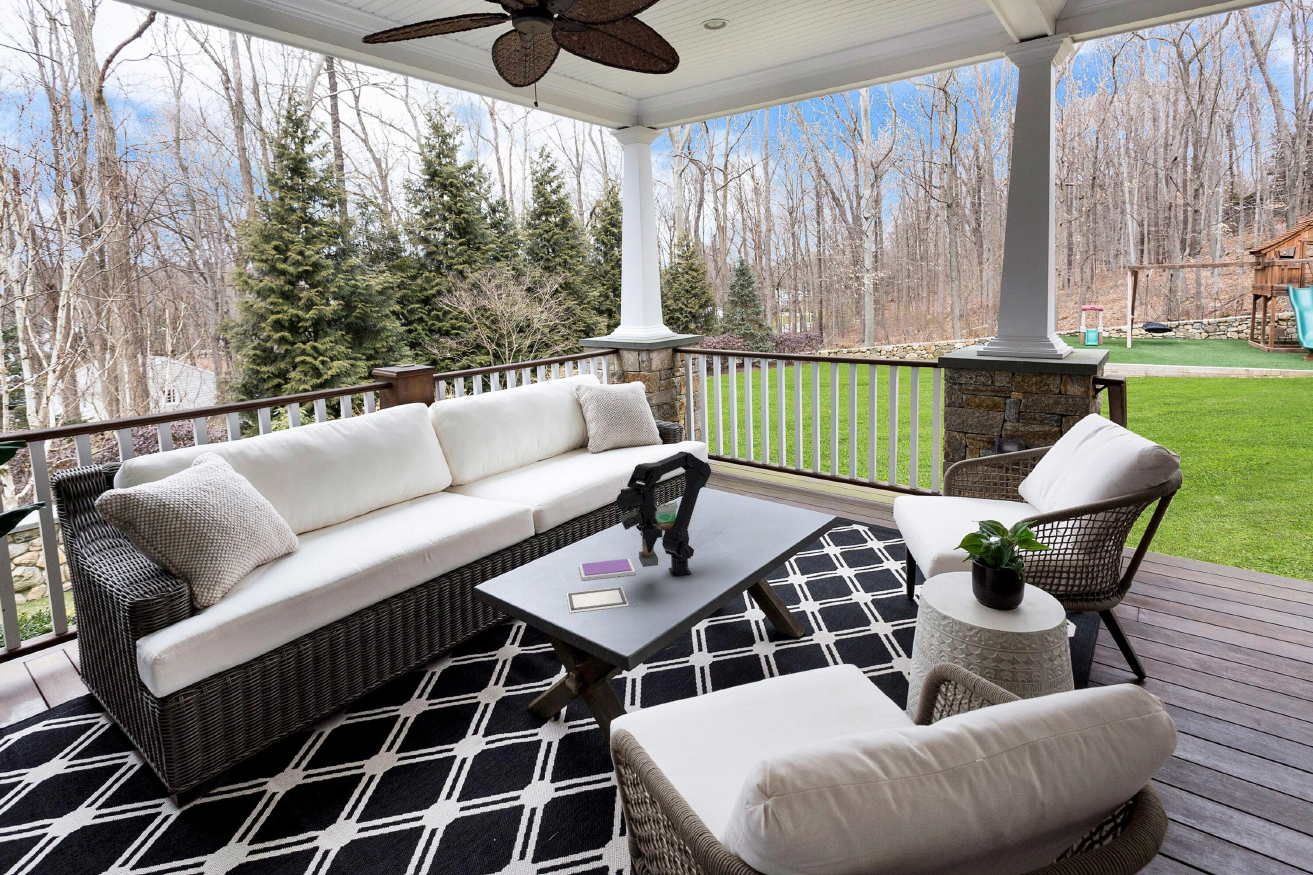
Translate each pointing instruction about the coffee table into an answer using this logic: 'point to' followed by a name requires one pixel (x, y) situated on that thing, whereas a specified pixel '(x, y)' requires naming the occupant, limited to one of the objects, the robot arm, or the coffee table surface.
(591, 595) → the marked board
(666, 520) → the food container
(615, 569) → the ink pad
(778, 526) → the coffee table surface
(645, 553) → the stamp
